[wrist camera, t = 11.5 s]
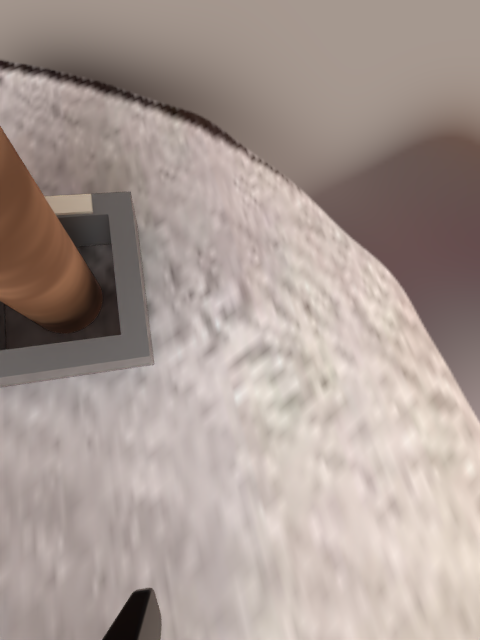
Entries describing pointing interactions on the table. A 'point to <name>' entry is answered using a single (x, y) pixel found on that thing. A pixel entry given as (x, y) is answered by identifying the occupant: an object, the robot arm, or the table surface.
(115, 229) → the socket block
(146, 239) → the table surface
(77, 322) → the peg
